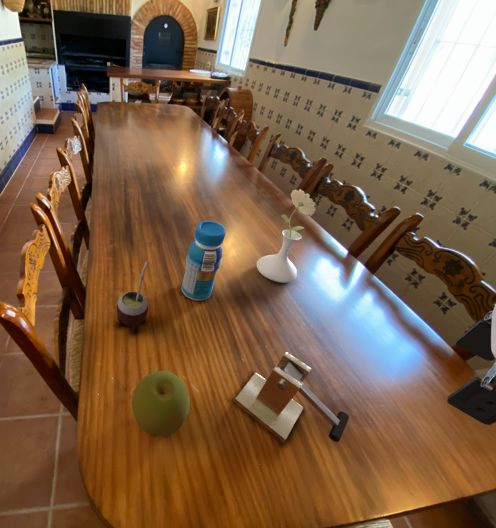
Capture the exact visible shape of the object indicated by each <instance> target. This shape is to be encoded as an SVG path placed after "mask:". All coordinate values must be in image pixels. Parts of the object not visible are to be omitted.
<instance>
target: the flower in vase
mask: <svg viewBox="0 0 496 528" xmlns="http://www.w3.org/2000/svg"><path fill="white" fill-rule="evenodd" d="M289 196H290V199H291V201H292V204H293V206H295V209H294V210H293V212H292V213H291V215H290V217H288V216H287V214H281V215H279V216H280V218H282V219H283V220H284V222H285V223H286V224H288V226H289V227H288V228H289V229H283V230H282V232H281V234H282V237H283V239H282V244H281V248H280V249H279V251H278V252H277V253H276V254H268V255H264V256H261V257H260V258H259V259H258V260H257V261H256V269H257V270H258V272H259V274H261V275H262V276H263V277H264V278H266V279H267V280H269V281H272V282H275V283H281V284H286V283H290V282H293V281H294V280H296V279H297V276H298V270H297V268H296V267H295V265H294V264H293V262H292V261H291V260H290V259H289V257H288V255H289V254H290V251H291V249H292V247H293V246H294V244H295V243H296V242H298V241H300V240H302V238H303V236H302V234H301V233H300V232H298V231H301V230H303V229H305V226H300V225H299V226H298V225H297V226H293V227H292V226H291V224H292V223H291V220H292V217H293V215H294V214H295V213H296V212H297V210H298V212H300V213H301V214H303V215H305V216H310V217H313V215H315V213H316V210H317V207H315V206H316V202H314V199H313V198H310V196H311V195H310V194H309V193H305V191H304V190H302V189H301V188H299V189H294V190H293V189H292V190H291V193H290V195H289Z"/></svg>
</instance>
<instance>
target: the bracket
mask: <svg viewBox="0 0 496 528" xmlns="http://www.w3.org/2000/svg"><path fill="white" fill-rule="evenodd" d="M289 362H290V363H291V364H292V365H293V366H294V367H295V368H296V369H297V370H298V371H299V372H300V373H301V374H302V375H303V376H302V377H301V379H300V381H301V382H302V383H303V382H304V380H305V379H306V377H307V376H308V375H309V373H310V372H311V371H312V368H311V367H310V366H308V365H307V364H306V363H304V362H302V361H301V360H299V359H298V358H296V357H295V356H293V355H292V354H291V353H289V352H287V351H285V353H284V354H283V356H282V357H281V359H280V361H279V362H278V364H277V365H275V367H274V368H273V369H272V371H271V373H270V374H269V376H268V377H267V379H266V378H264V377H263V376H262V375H261V374H259V373H257V372H256V371H255V372H254V373H253V375H252V376H251V377H250V379H249V380H248V381H247V383H246V384H245V385H244V386H243V388H241V390H240V392H239V393H238V394H237V396H236V397H235V398H234V400H233V403H235V404H236V405H237V406H239V408H241V409H242V410H243V411H245V412H246V413H247V414H248V415H250V416H251V417H252V418H253V419H254V420H255V421H256V422H258V423H259V424H260V425H261V426H263V427H264V428H265V429H266V430H267V431H269V432H270V433H271V434H272V435H274V436H275V437H276V438H277V439H278V440H279V441H281V442H282V443H285V441H286V440H287V438H288V437H289V435H290V433H291V431H292V430H293V428H294V426H295V424H296V422H297V421H298V419H299V418H300V415H301V413H302V411H303V410H304V407H303V406H302V405H301V404H300V403H298V402H297V401H296V400H294V399H293V398H294V396H295V395H296V394H297V393H298V392H299V391H298V390H299V389H300V387H301V386H302V384H301V383H300V382H298V381H297V380H295V379H294V378H292V377H291V376H290V375H288V374H287V373H285V372H284V371H282V370H281V369H280V367H281V366H283V365H285V364H287V363H289Z"/></svg>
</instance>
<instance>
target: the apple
mask: <svg viewBox="0 0 496 528" xmlns="http://www.w3.org/2000/svg"><path fill="white" fill-rule="evenodd" d="M190 404H191V397H190V395H189V392H188V390H187V387H186V385H185V382H184V381H183V380H182V379H181V378H180V377H179V376H177V375H176V374H174V373H172V372H170V371H168V370H157V371H153V372H150V373H148V374H147V375H146V376H144V377H143V378H142V379H141V380H139V382H137V384H136V386H135V388H134V389H133V390H132V397H131V410H132V413H133V417H134V419H135V422H136V423H137V424H138V426H139V427H140V428H141V429H142V430H143V431H145V432H146V433H149V434H150V435H152V436H156V437H168V436H172V435H175V434H177V432H178V431H180V429H182V428H183V427H184V424H185V423H186V420H187V418H188V414H189V412H190V408H191V406H190Z"/></svg>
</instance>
